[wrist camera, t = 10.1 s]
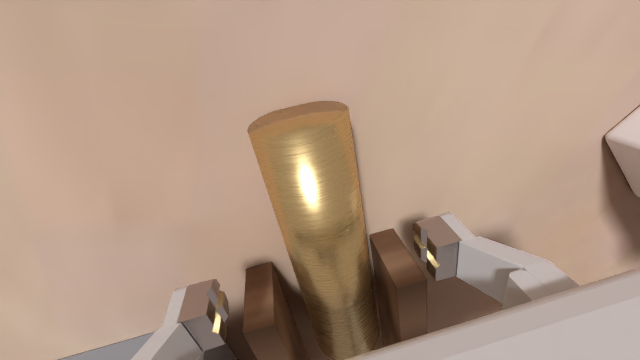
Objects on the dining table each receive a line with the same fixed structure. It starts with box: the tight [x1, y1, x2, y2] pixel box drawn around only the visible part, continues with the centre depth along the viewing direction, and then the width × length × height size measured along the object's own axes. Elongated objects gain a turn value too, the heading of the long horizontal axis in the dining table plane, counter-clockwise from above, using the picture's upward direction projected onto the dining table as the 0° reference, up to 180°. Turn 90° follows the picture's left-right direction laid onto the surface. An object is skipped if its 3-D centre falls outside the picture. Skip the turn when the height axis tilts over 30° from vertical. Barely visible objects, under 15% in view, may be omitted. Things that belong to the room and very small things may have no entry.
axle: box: [248, 101, 379, 360], centre depth 15 cm, size 14×4×4 cm, turn 10°
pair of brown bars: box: [243, 229, 427, 360], centre depth 18 cm, size 12×9×4 cm
